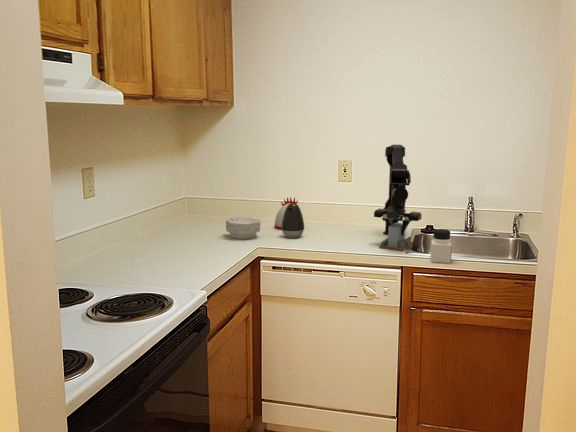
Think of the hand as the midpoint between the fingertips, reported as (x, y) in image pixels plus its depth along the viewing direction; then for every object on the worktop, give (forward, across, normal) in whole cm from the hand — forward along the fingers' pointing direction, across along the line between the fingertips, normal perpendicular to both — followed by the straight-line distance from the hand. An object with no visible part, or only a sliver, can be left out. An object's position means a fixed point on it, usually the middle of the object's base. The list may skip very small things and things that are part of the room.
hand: (396, 235), depth 245 cm
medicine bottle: (+5, +22, -15) cm, 27 cm away
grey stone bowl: (+5, -65, -16) cm, 67 cm away
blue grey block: (+4, 0, 0) cm, 4 cm away
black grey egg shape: (+5, -46, -6) cm, 47 cm away
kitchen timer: (+5, -57, +12) cm, 58 cm away
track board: (+5, 0, 0) cm, 5 cm away
